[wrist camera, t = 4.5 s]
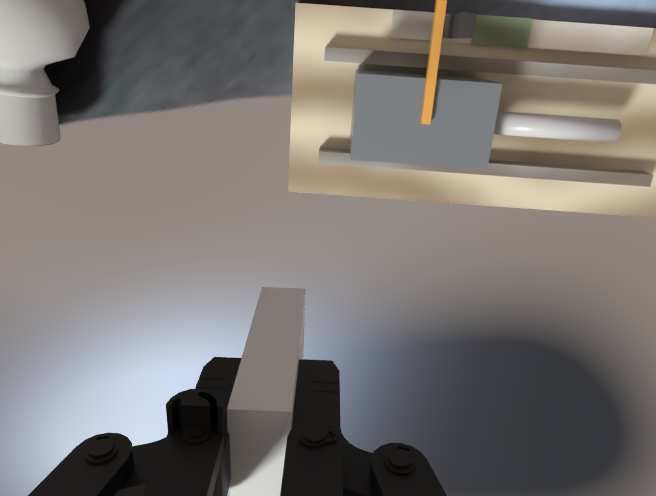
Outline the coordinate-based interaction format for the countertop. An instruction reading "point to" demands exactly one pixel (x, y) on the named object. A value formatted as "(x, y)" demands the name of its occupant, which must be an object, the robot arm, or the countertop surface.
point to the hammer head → (459, 25)
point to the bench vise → (516, 96)
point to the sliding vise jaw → (447, 116)
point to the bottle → (35, 65)
